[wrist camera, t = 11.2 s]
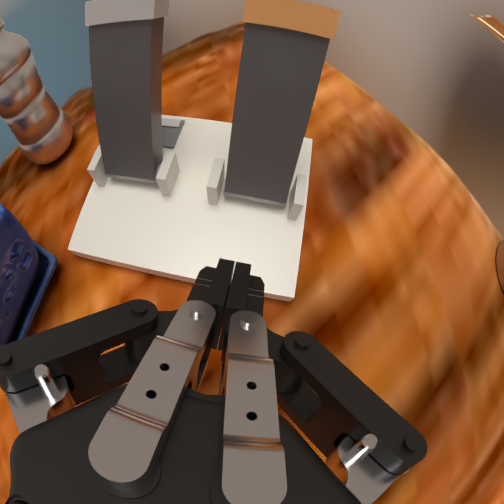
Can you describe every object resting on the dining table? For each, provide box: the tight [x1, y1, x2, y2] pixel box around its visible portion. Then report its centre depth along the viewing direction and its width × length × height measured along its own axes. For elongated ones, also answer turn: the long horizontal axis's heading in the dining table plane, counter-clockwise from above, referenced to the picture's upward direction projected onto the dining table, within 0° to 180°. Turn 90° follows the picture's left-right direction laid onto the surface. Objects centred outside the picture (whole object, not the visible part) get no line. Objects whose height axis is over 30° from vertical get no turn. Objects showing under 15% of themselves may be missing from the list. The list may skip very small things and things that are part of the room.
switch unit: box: [68, 115, 312, 302], centre depth 25 cm, size 16×20×5 cm
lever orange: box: [223, 0, 341, 207], centre depth 19 cm, size 2×5×16 cm, turn 80°
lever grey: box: [85, 0, 169, 184], centre depth 19 cm, size 2×5×16 cm, turn 80°
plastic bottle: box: [0, 17, 73, 164], centre depth 19 cm, size 6×7×20 cm
